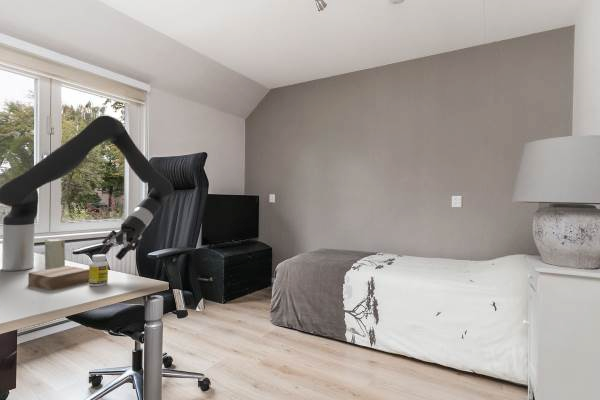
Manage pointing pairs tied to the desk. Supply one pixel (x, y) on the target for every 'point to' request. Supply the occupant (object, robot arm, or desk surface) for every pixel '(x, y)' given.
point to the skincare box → (54, 253)
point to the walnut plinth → (58, 277)
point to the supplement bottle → (98, 270)
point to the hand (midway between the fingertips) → (109, 257)
